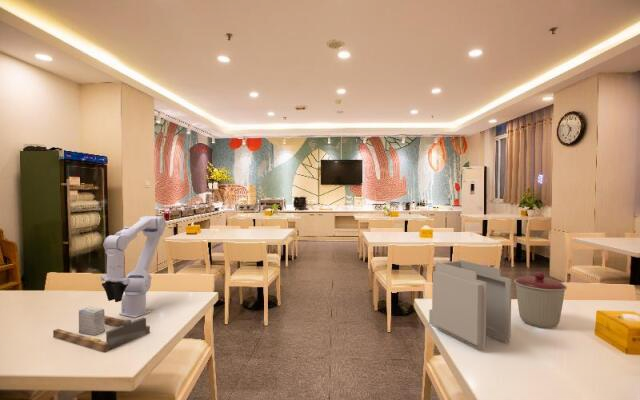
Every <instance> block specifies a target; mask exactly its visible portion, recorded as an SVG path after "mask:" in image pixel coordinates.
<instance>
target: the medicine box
mask: <svg viewBox="0 0 640 400" xmlns="http://www.w3.org/2000/svg"><path fill="white" fill-rule="evenodd" d="M104 316H105V308H100V307H95V306H88V307H85V308H81V309H78V334H79V333H80V334H84V335H90V336H97V335H100V334H102V333H104V332H105V331H106V330H105V328H106V326H105V325H106V324H105V317H104Z"/></svg>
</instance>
